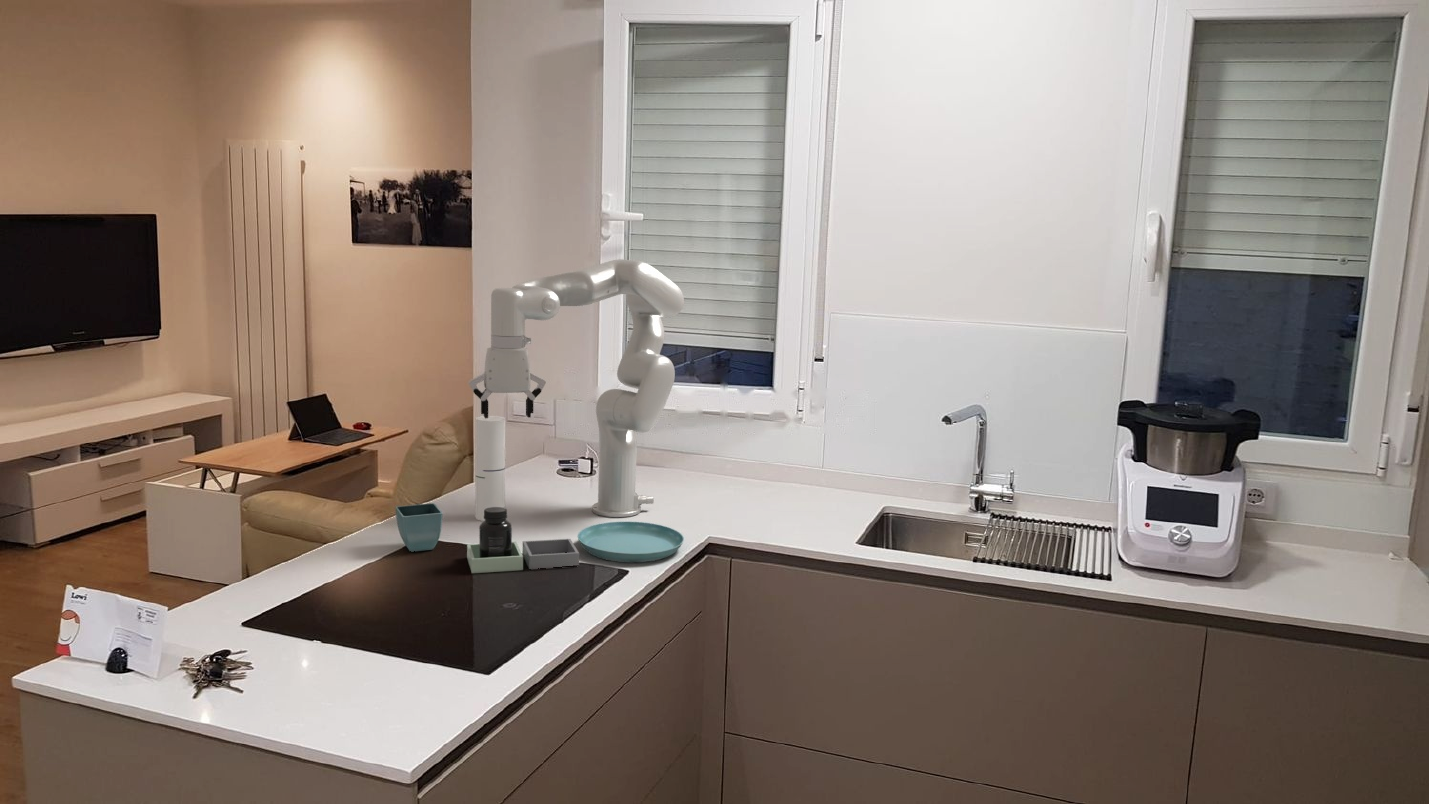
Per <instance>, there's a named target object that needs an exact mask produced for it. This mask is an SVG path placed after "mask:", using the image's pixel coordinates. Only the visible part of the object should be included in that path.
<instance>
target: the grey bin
mask: <svg viewBox="0 0 1429 804" xmlns="http://www.w3.org/2000/svg"><path fill="white" fill-rule="evenodd" d="M565 552H567V553H565ZM522 555H523V560H525V563H526V565H527V567H528V569H531V570H541V569H540V568H546V569H554V568H553V567H562V566H573V565H579V566H580V552H579V550H578V549H577V548H576V546H575V544H574V543H573V541H572V539H571V538H558V539H557V538H556V539H555V538H553V539H539V540H523V541H522ZM538 568H539V569H538ZM562 568H563V567H562Z"/></svg>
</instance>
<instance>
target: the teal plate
mask: <svg viewBox="0 0 1429 804" xmlns="http://www.w3.org/2000/svg"><path fill="white" fill-rule="evenodd" d="M577 539H578V542H579V543H580V545H581V546H582V547H583V549H584V550H586V551H587V552H588V553H590V554H591V555H592V556H594V557H596V556H597V558H600V559H601V560H605V559H607V561H610V560H611V562H616V561H619V562H618V563H630V562H637V563H647V562H646V561H650V562H655V560H656V561H659V560H663V559H666V558H669V557H670V556H672V555H674V553H676V552H677V551H679V549H680V548H681V547H682V545H683V543H684V541H685V537H684V535H683V534H682V533H681V532H680V531H678V530H676V529H674V528H672V527H669V526H666V525H662V524H658V523H651V522H642V521H611V522H602V523H598V524H592V525H590V526H587V527H585V528H583V529H581V530H580V531H579V532H578V533H577Z"/></svg>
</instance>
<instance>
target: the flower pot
mask: <svg viewBox="0 0 1429 804" xmlns="http://www.w3.org/2000/svg"><path fill="white" fill-rule="evenodd" d="M394 509H395V517H396V523H397V529H398V532H399V535H400V538H401V540H402V541H403V543H404V545H405V547H406V548H407V550H408V551H409V552H410V551H411V553H413V552H414V551H415V552H423V551H430V550H434V549H435V547H436V545H437V544H438V542H439V540H440V536H441V533H442V525H443V524H442V523H443V515H444V512H443V511H442V510H441V509H440V508H439V507H438V506H437V505H436V503H434V502H431V503H430V502H429V503H418V504H411V505H409V504H407V505H398V506H395V508H394Z"/></svg>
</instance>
